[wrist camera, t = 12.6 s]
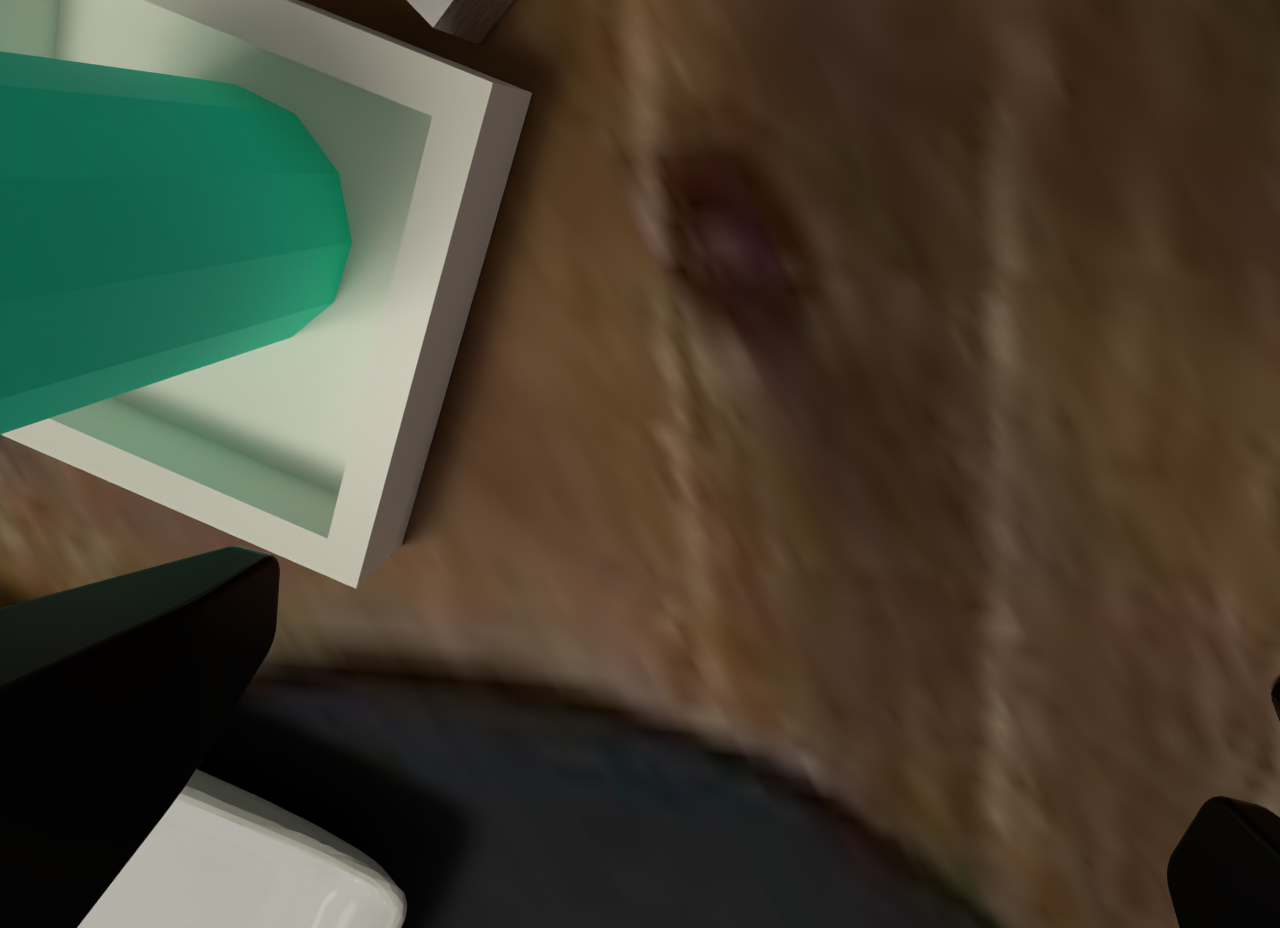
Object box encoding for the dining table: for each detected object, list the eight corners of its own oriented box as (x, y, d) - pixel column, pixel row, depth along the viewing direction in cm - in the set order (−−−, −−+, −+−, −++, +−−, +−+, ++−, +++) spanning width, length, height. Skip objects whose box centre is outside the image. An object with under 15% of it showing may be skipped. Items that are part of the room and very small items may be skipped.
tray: (532, 92, 19) (493, 83, 16) (401, 546, 23) (356, 588, 21) (46, -102, 19) (-59, -138, 17) (9, 377, 24) (-77, 400, 21)
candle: (79, 141, 21) (-787, 113, 9) (279, 38, 19) (-486, -144, 8) (197, 373, 22) (-429, 588, 11) (393, 297, 20) (-112, 458, 9)
